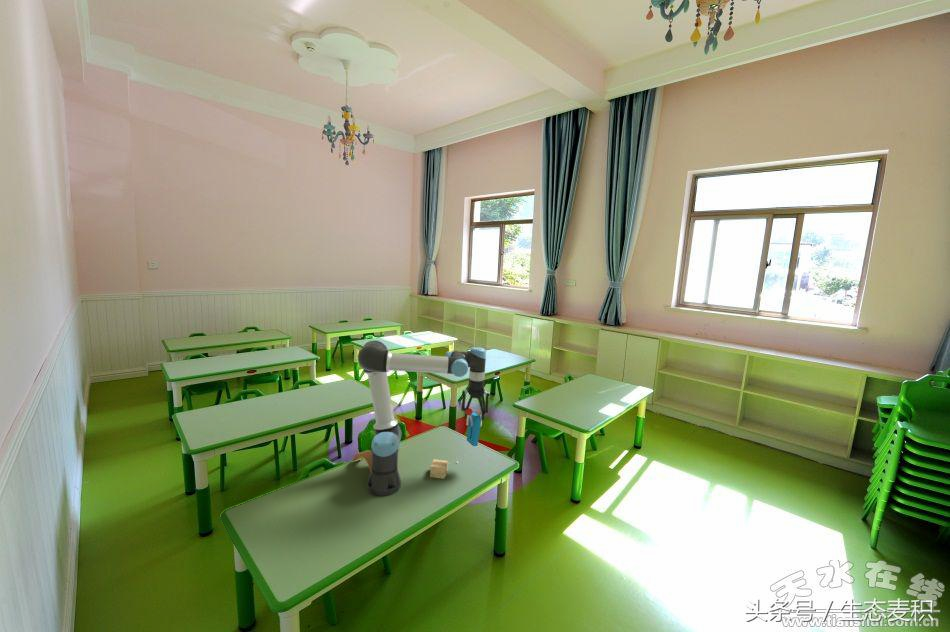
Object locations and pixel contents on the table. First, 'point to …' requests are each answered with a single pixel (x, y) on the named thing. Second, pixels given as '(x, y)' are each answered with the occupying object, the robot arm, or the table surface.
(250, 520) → the table surface
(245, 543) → the table surface
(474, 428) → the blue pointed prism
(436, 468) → the oak block
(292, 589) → the table surface
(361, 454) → the arch
